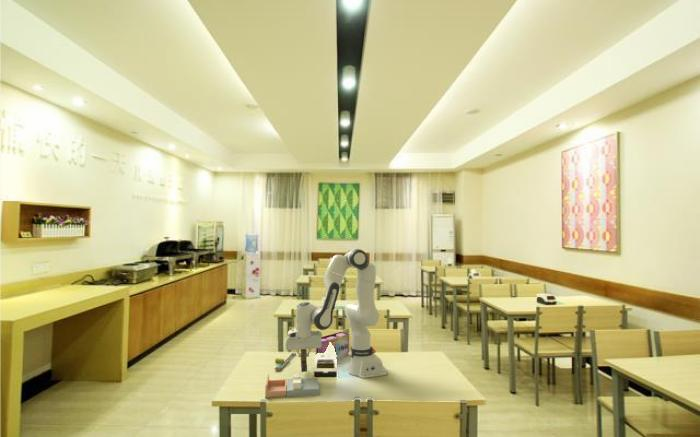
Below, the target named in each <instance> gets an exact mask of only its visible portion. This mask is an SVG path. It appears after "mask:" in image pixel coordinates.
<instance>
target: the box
mask: <svg viewBox="0 0 700 437" xmlns="http://www.w3.org/2000/svg"><path fill="white" fill-rule="evenodd" d="M265 381H266V382H265V388H264V389H265V393H264V395H265V396H264V397H265V399H271V398H286V397H287V378H285V379H270V374H267V376H266V380H265Z"/></svg>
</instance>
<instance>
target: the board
mask: <svg viewBox="0 0 700 437" xmlns="http://www.w3.org/2000/svg"><path fill="white" fill-rule="evenodd" d="M286 379H287V378H286ZM319 395H320V386H319V379H318V377H304V378H302V377H301V389H293V378H289V379H287V388H286V397H287V398H290V397H306V396H319Z"/></svg>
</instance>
